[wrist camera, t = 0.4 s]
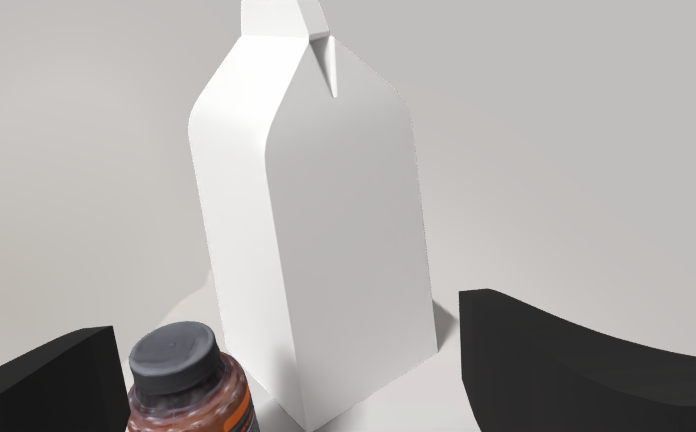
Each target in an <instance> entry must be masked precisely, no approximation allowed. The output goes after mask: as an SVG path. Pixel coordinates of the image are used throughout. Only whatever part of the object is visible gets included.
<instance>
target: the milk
mask: <svg viewBox="0 0 696 432" xmlns="http://www.w3.org/2000/svg"><path fill="white" fill-rule="evenodd" d="M241 33H242V36H241V37H240V38H239V39H238V41H237V42H236V44H235V45H234V46H233V48H232V49H231V51H230V52H229V54H228V55H227V57H226V58H225V60H224V61H223V63H222V64H221V65H220V67H219V68H218V70H217V71H216V73H215V74H214V76H213V77H212V78H211V80H210V81H209V83H208V84H207V86H206V87H205V89H204V90H203V92H202V93H201V95H200V96H199V98H198V99H197V101H196V103H195V105H194V107H193V109H192V112H191V114H190V118H189V123H188V134H189V141H190V147H191V153H192V158H193V164H194V169H195V174H196V181H197V186H198V192H199V197H200V203H201V208H202V214H203V220H204V225H205V231H206V236H207V242H208V247H209V253H210V259H211V265H212V270H213V276H214V281H215V287H216V293H217V298H218V304H219V309H220V315H221V321H222V326H223V332H224V337H225V343H226V349H227V350H228V351H229V352H230V353H231V354H232V355H233V356H234V357H235V358H236V359H237V360H238V361H239V362H240V363H241V364H242V365H243V367H244V368H245V369H246V370H247V371H248V372H249V373H250V374H251V375H252V376H253V377H254V378H255V379H256V380H257V381H258V382H259V383H260V384H261V385H262V386H263V388H264V389H265V390H266V391H267V392H268V393H269V394H270V395H271V396H272V397H273V398H274V399H275V400H276V401H277V402H278V403H279V404H280V405H281V406H282V407H283V409H284V410H285V411H286V412H287V413H288V414H289V415H290V416H291V417H292V418H293V419H294V420H295V421H296V422H297V423H298V424H299V425H300V426H301V427H302V429H303V430H304V431H305V432H314V431H315V430H317V429H318V428H320V427H321V426H323V425H325V424H326V423H328V422H329V421H331V420H332V419H334V418H336V417H337V416H339V415H340V414H342V413H343V412H345V411H347V410H348V409H350V408H351V407H353V406H355V405H356V404H358V403H359V402H361V401H362V400H364V399H366V398H367V397H369V396H370V395H372V394H373V393H375V392H377V391H378V390H380V389H381V388H383V387H384V386H386V385H388V384H389V383H391V382H392V381H394V380H396V379H397V378H399V377H400V376H402V375H403V374H405V373H407V372H408V371H410V370H411V369H413V368H414V367H416V366H418V365H419V364H421V363H422V362H424V361H425V360H427V359H429V358H430V357H432V356H433V355H435V354H437V353H438V348H437V339H436V331H435V322H434V313H433V304H432V295H431V286H430V277H429V268H428V259H427V252H426V251H427V250H426V242H425V232H424V224H423V214H422V206H421V197H420V188H419V180H418V170H417V161H416V153H415V143H414V134H413V125H412V119H411V115H410V110H409V108H408V106H407V104H406V102H405V101H404V99H403V98H402V96H401V95H400V94H399V93H398V91H396V89H394V88H393V87H392V86H391V85H390V84H389V83H388V82H387V81H386V80H384V79H383V78H382V77H381V76H380V75H379V74H377V73H376V72H375V71H373V69H371V68H370V67H369V66H368V65H367V64H365V63H364V62H363V61H362V60H361V59H359V58H358V57H357V56H356V55H355V54H354V53H352V52H351V51H350V50H349V49H347V48H346V47H345V46H344V45H343V44H341V43H340V42H339V41H338V40H337V39H336V38H334V37H333V36H331V35H330V30H329V28H328V25H327V22H326V19H325V17H324V14H323V11H322V8H321V6H320V3H319V0H241Z"/></svg>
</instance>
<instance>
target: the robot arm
mask: <svg viewBox="0 0 696 432" xmlns="http://www.w3.org/2000/svg"><path fill="white" fill-rule="evenodd" d="M459 312H460V341H461V369H462V381H463V384H464V387H465V390H466V393H467V396H468V399H469V402H470V405H471V408H472V411H473V414H474V417H475V419H476V421H477V424H478V426H479V428H480V430H481V432H696V357H695V356H689V355H684V354H679V353H674V352H669V351H665V350H660V349H656V348H651V347H648V346H644V345H640V344H637V343H633V342H629V341H626V340H622V339H619V338H615V337H612V336H609V335H606V334H602V333H600V332H597V331H594V330H591V329H588V328H586V327H583V326H580V325H577V324H575V323H572V322H569V321H567V320H564V319H562V318H559V317H557V316H554V315H552V314H550V313H547V312H545V311H543V310H540V309H538V308H536V307H533V306H531V305H529V304H527V303H524V302H522V301H520V300H517V299H515V298H513V297H510V296H508V295H506V294H503V293H501V292H498V291H495V290H492V289H478V290H468V291H459ZM130 415H131V410H130V405H129V401H128V396H127V391H126V386H125V382H124V377H123V372H122V368H121V363H120V358H119V354H118V349H117V344H116V340H115V335H114V330H113V326H104V327H94V328H83V329H80V330H76V331H73V332H71V333H68V334H66V335H63V336H61V337H59V338H56V339H54V340H52V341H50V342H48V343H46V344H44V345H42V346H40V347H38V348H36V349H34V350H31V351H29V352H27V353H26V354H23V355H21V356H20V357H17V358H16V359H14V360H12V361H9V362H7V363H5V364H3V365H1V366H0V432H125V430H126V427H127V424H128V421H129V418H130Z"/></svg>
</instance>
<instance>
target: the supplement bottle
mask: <svg viewBox="0 0 696 432" xmlns="http://www.w3.org/2000/svg"><path fill="white" fill-rule="evenodd" d="M129 365H130V369H131V371H132V374H133V377H134V384H133V386H132V387H131V389H130V391H129V393H128V395H127V396H128V401H129V405H130V410H131V415H130V418H129V421H128V424H127V427H128V430H129V432H260V430H259V426H258V422H257V419H256V414H255V410H254V405H253V402H252V398H251V393H250V390H249V386H248V382H247V379H246V376H245V373H244V370H243V369H242V367H241V366H240V364H239V363H238V362H237V361H236V360H235V359H234V358H233V357H232V356H230V355H228V354H226V353H223V352H221V351H220V349H219V347H218V345H217V343H216V339H215V335H214V333H213V331H212V330H211V328H210V327H208V326H207V325H205V324H203V323H199V322H190V321H185V322H177V323H172V324H169V325H166V326H163V327H160V328H158V329H156V330H154V331H152V332H151V333H149V334H147V335H146V336H144V337H143V338H142V339H141V340H140V341H139V342H138V343H137V344H136V345H135V346H134V347H133V349H132V351H131V353H130V356H129Z"/></svg>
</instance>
